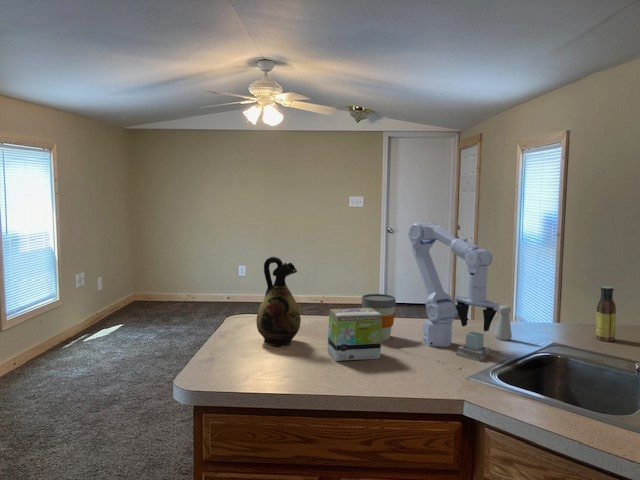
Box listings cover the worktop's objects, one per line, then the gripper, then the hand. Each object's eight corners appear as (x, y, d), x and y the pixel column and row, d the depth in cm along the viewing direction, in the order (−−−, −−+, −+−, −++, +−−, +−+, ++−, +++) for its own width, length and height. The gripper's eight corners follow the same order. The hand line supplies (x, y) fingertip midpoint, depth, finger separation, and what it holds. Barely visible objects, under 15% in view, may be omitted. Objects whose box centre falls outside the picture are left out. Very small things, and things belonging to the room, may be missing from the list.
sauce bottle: (609, 337, 183) (613, 285, 182) (618, 342, 177) (622, 288, 175) (591, 336, 184) (595, 285, 182) (599, 341, 178) (603, 288, 176)
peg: (476, 358, 154) (477, 336, 153) (465, 355, 156) (466, 333, 156) (482, 355, 157) (483, 334, 156) (471, 352, 159) (472, 331, 159)
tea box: (336, 362, 150) (337, 316, 149) (327, 352, 160) (328, 308, 158) (381, 359, 154) (382, 313, 153) (369, 349, 164) (371, 306, 162)
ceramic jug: (308, 340, 173) (309, 256, 170) (287, 352, 159) (288, 261, 156) (267, 333, 180) (267, 253, 177) (243, 344, 166) (244, 258, 163)
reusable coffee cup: (401, 340, 174) (402, 299, 173) (370, 343, 170) (371, 301, 168) (384, 331, 186) (385, 292, 185) (354, 334, 181) (355, 294, 180)
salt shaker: (493, 342, 175) (495, 306, 174) (495, 338, 180) (497, 303, 179) (510, 344, 172) (512, 308, 171) (512, 340, 177) (514, 305, 176)
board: (475, 348, 167) (476, 338, 167) (501, 354, 161) (501, 344, 160) (454, 357, 157) (455, 347, 157) (481, 364, 151) (481, 353, 150)
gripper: (504, 288, 152) (502, 330, 154) (462, 282, 163) (460, 321, 164) (494, 291, 147) (492, 334, 149) (451, 284, 158) (450, 325, 159)
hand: (475, 328), depth 156 cm, fingers open, 7 cm apart
